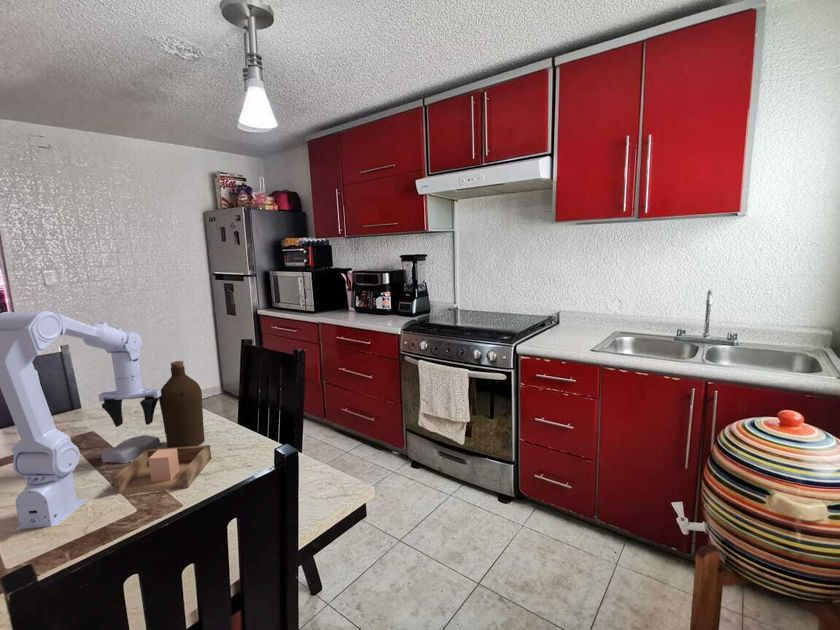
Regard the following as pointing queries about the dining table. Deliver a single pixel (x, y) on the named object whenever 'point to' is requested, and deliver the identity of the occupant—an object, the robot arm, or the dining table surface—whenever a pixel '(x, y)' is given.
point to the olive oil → (182, 409)
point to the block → (163, 465)
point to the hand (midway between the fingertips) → (134, 424)
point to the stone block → (130, 449)
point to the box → (140, 480)
